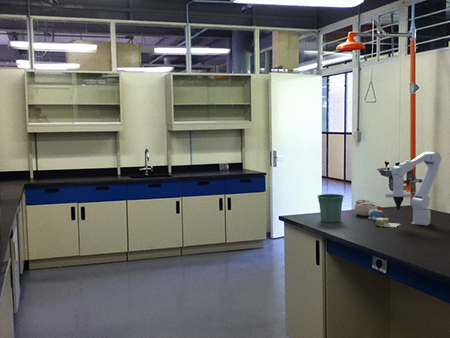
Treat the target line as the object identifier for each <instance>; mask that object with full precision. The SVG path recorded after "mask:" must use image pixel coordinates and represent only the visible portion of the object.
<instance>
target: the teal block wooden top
mask: <svg viewBox="0 0 450 338" xmlns="http://www.w3.org/2000/svg"><path fill="white" fill-rule="evenodd" d="M388 223H389V218H388V217H382V218H376V220H375V226H379V225H380V226H379V227H383V226H388Z"/></svg>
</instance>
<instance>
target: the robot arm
mask: <svg viewBox="0 0 450 338" xmlns="http://www.w3.org/2000/svg"><path fill="white" fill-rule="evenodd" d="M441 161H442V156H441V153H439V152H438V151H435V152H434V151H423V152H421V154H420V155H418V156H417V157H415V158H413V159H412V160H407V159H406V160H404V162H402V163H399V164H398V165H395V166H393V167H392V168H391V171H390V173H391V175H392V179H393V180H392V183H393V184H392V188H393V189H392V193H385V194H384V195H385V196H384V197H385V198H387V199H388V198H392V199H393V201H394V203H395V206H396V210H398V211H399V210H401V206H402V203H403V201H404V199H405V198H411V199H410V201H409V202H410V206H411V207H412V222H411V223H410V224H411V225H421V226H429V225H430V224H431V210H430V209H428V208H429V206H430V201H431V198H430V197H429V193H430V192H431V190H432V189H431V188H432V186H433V184H434V181H435V179H436V177H437V173H438V171H439V168H440V163H441ZM421 163H424V164H425V166H426V167H427V171H426V174H425V175H424V178H423V181H422V183H421V186H420V188H419V191H418V192H416V193H414V195H413V197H412V193H404V179H405V175H406V173H408V172H410V171H411V170H414V167H415V166H417V165H419V164H421Z"/></svg>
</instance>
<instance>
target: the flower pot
mask: <svg viewBox="0 0 450 338" xmlns="http://www.w3.org/2000/svg"><path fill="white" fill-rule="evenodd" d="M344 197H345V196H344V194H340V193H339V194H338V193H322V194H318V195H317V200H318V203H319V213H320V221H321V222H324V223H330V224H333V223H337V222H338V223H339V222H341V220H342V218H341V217H342V206H343V201H344Z"/></svg>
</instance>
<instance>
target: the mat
mask: <svg viewBox="0 0 450 338" xmlns="http://www.w3.org/2000/svg"><path fill="white" fill-rule="evenodd" d="M378 226H379V227H381V226H380V225H378ZM397 226H398V227H399V226H401V223H396V222H395V223H394V222H393V223H392V222H388V226H384V227H385V228H394V227H395V228H397Z"/></svg>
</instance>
